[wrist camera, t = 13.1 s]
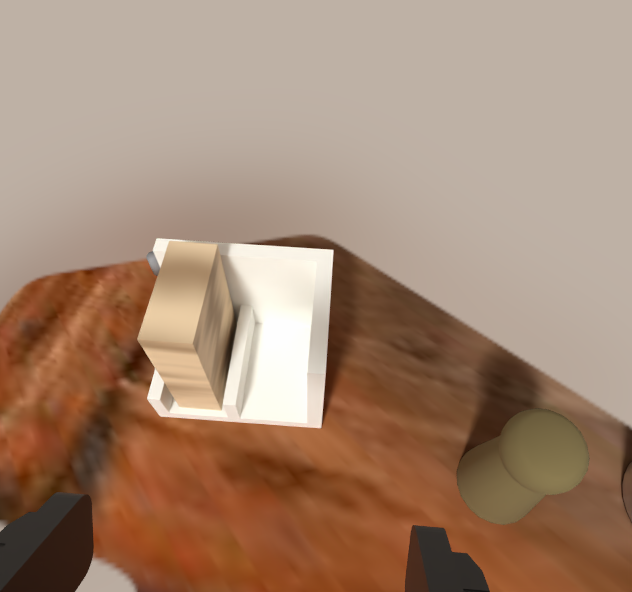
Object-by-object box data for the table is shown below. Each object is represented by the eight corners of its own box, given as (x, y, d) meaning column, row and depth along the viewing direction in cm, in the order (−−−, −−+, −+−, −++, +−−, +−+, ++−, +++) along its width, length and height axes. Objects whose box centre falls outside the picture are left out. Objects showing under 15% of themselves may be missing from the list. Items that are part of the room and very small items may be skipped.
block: (221, 410, 40) (192, 343, 30) (179, 407, 40) (137, 339, 30) (237, 327, 44) (217, 244, 34) (200, 324, 44) (169, 240, 34)
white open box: (321, 428, 40) (325, 374, 31) (147, 415, 41) (101, 358, 32) (328, 322, 46) (333, 249, 37) (175, 311, 46) (143, 237, 37)
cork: (450, 445, 40) (493, 395, 31) (522, 443, 40) (587, 393, 31) (464, 525, 36) (517, 496, 27) (543, 523, 37) (622, 494, 27)
